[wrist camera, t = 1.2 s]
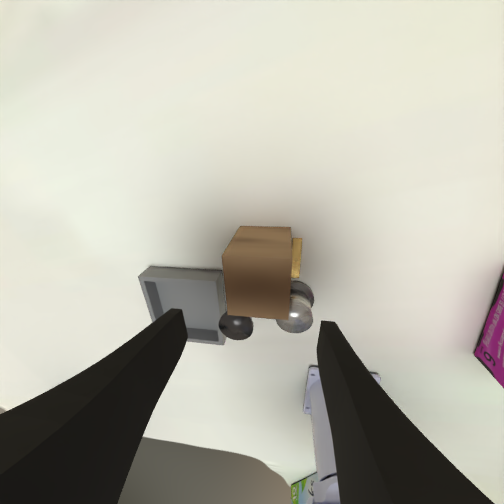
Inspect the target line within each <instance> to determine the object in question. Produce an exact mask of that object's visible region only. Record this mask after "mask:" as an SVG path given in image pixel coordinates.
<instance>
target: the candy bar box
mask: <svg viewBox="0 0 504 504" xmlns="http://www.w3.org/2000/svg"><path fill="white" fill-rule="evenodd" d="M474 355H475V357H476V358H477V359H478V360H479V361H480V362H481V363H482V365H483V366H484V367H485V368H486V369H487V370H488V371H489V372H490V373H491V375H492V376H493V377H494V378H495V379H496V380H497V381H498V382H499V384H500V385H501V386H502V387H503V388H504V274H503V277H502V280H501V283H500V285H499V288H498V291H497V294H496V297H495V300H494V302H493V305H492V308H491V310H490V313H489V316H488V319H487V321H486V324H485V327H484V330H483V332H482V335H481V338H480V340H479V343H478V345H477V348H476V351H475V354H474Z"/></svg>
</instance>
